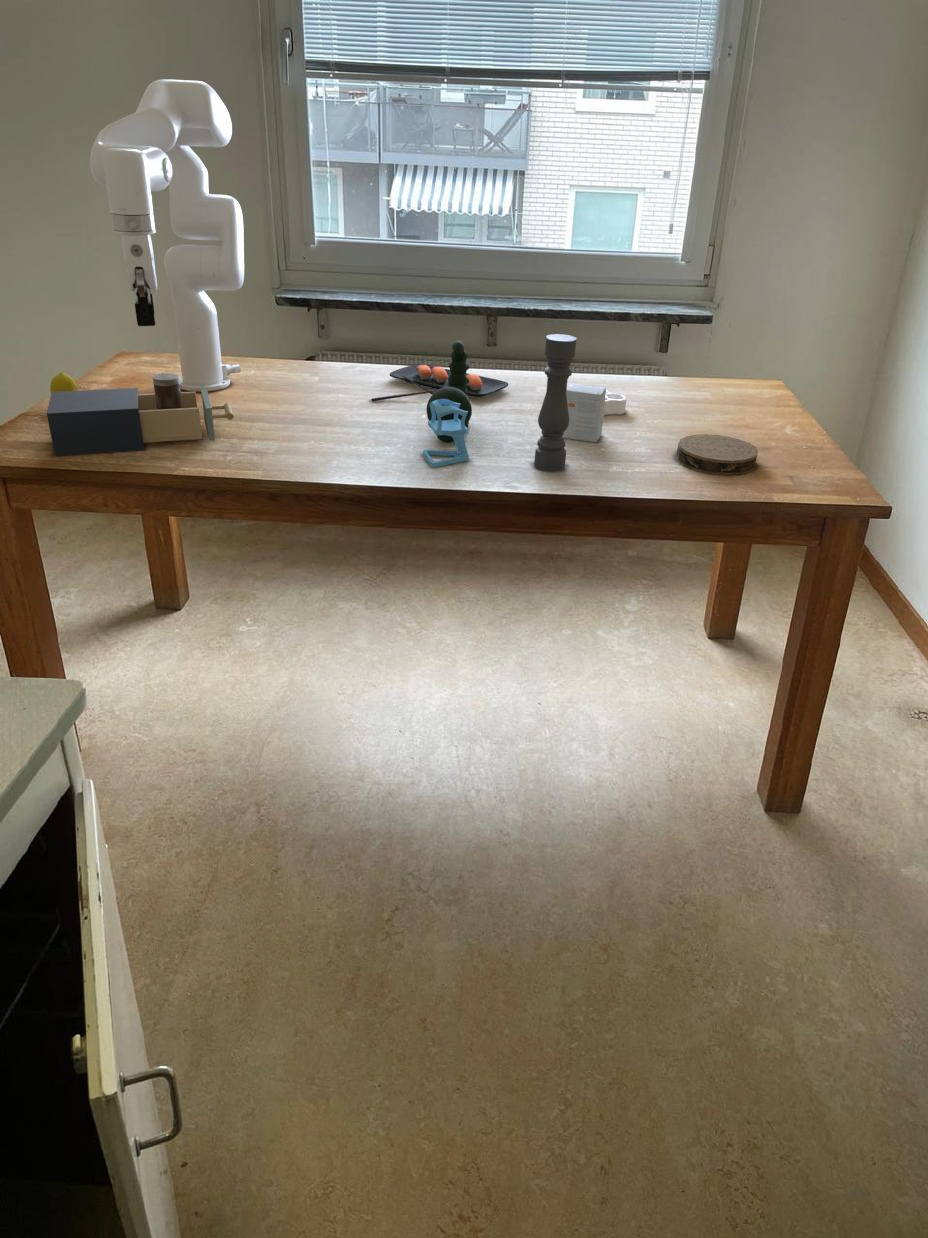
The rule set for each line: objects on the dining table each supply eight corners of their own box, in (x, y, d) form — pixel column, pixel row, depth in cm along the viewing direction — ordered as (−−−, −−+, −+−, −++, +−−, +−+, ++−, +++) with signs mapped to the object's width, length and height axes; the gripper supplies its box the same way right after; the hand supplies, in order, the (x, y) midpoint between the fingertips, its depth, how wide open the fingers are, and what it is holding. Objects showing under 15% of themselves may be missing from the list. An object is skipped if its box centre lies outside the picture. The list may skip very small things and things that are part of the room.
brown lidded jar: (177, 422, 186) (171, 371, 181) (189, 428, 183) (183, 377, 178) (155, 426, 183) (148, 375, 178) (166, 433, 180) (159, 381, 175)
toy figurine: (436, 421, 204) (420, 448, 182) (439, 335, 196) (423, 352, 174) (477, 424, 204) (466, 452, 181) (482, 338, 196) (471, 356, 173)
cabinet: (143, 427, 188) (137, 387, 184) (144, 450, 177) (138, 408, 172) (59, 432, 184) (51, 391, 179) (54, 455, 172) (46, 413, 168)
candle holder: (531, 460, 180) (542, 333, 168) (562, 460, 181) (574, 334, 168) (536, 471, 175) (547, 341, 162) (567, 471, 175) (581, 341, 163)
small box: (601, 435, 195) (607, 387, 190) (596, 443, 191) (602, 394, 186) (566, 430, 198) (570, 382, 192) (560, 437, 193) (564, 389, 188)
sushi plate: (512, 390, 223) (513, 375, 221) (446, 419, 201) (447, 402, 199) (417, 369, 236) (417, 355, 234) (345, 395, 214) (345, 379, 212)
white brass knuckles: (618, 400, 219) (629, 418, 207) (545, 397, 218) (551, 416, 206) (619, 386, 218) (631, 404, 205) (546, 384, 217) (553, 401, 204)
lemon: (85, 406, 199) (79, 370, 195) (73, 413, 194) (67, 376, 190) (61, 404, 199) (54, 368, 195) (49, 411, 195) (42, 375, 190)
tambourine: (707, 478, 175) (710, 464, 174) (661, 452, 188) (663, 438, 186) (771, 469, 181) (774, 455, 179) (722, 444, 193) (725, 431, 192)
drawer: (230, 419, 192) (227, 388, 189) (236, 438, 182) (233, 406, 178) (134, 424, 187) (129, 392, 184) (134, 445, 176) (129, 412, 173)
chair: (472, 464, 177) (475, 405, 171) (431, 467, 174) (433, 407, 168) (461, 451, 183) (463, 393, 177) (422, 454, 181) (423, 395, 175)
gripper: (155, 230, 158) (167, 329, 167) (154, 218, 172) (165, 310, 181) (110, 229, 156) (125, 330, 164) (113, 218, 170) (126, 311, 179)
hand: (146, 320), depth 173 cm, fingers open, 9 cm apart
